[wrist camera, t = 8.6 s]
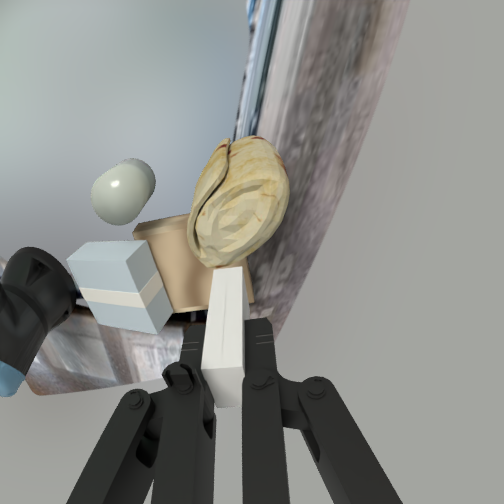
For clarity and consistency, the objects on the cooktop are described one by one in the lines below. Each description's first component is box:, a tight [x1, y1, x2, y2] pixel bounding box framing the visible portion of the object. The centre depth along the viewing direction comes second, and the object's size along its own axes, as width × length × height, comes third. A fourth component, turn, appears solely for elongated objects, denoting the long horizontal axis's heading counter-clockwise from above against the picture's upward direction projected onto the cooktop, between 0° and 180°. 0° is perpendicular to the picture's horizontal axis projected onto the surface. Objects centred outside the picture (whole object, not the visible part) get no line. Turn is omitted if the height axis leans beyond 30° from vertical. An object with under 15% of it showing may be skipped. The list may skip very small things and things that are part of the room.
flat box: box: [66, 240, 173, 335], centre depth 41 cm, size 12×12×5 cm
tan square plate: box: [132, 213, 254, 313], centre depth 43 cm, size 14×14×3 cm
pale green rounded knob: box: [91, 158, 156, 225], centre depth 35 cm, size 6×6×7 cm
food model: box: [187, 136, 290, 268], centre depth 29 cm, size 10×7×20 cm
